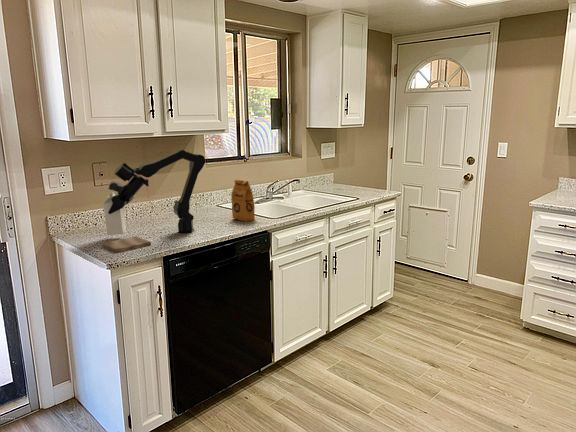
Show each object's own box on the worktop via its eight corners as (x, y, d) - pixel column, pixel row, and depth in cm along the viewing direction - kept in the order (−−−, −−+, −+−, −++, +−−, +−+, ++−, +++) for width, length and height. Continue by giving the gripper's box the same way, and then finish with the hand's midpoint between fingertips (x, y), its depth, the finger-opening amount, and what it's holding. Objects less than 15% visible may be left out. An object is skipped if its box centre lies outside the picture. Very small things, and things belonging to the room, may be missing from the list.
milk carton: (126, 230, 208) (121, 191, 203) (123, 234, 201) (118, 194, 197) (110, 231, 207) (105, 192, 202) (107, 235, 200) (101, 195, 196)
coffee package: (243, 223, 233) (241, 182, 228) (230, 219, 242) (228, 180, 237) (257, 220, 239) (256, 180, 234) (244, 216, 248) (243, 178, 243)
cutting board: (136, 239, 203) (136, 236, 203) (151, 245, 194) (150, 241, 193) (102, 246, 192) (101, 243, 192) (115, 252, 183) (115, 249, 182)
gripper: (123, 172, 207) (102, 196, 209) (113, 178, 189) (90, 204, 191) (142, 188, 210) (121, 211, 211) (133, 194, 192) (111, 220, 193)
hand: (111, 211), depth 201 cm, fingers closed on milk carton, 7 cm apart
